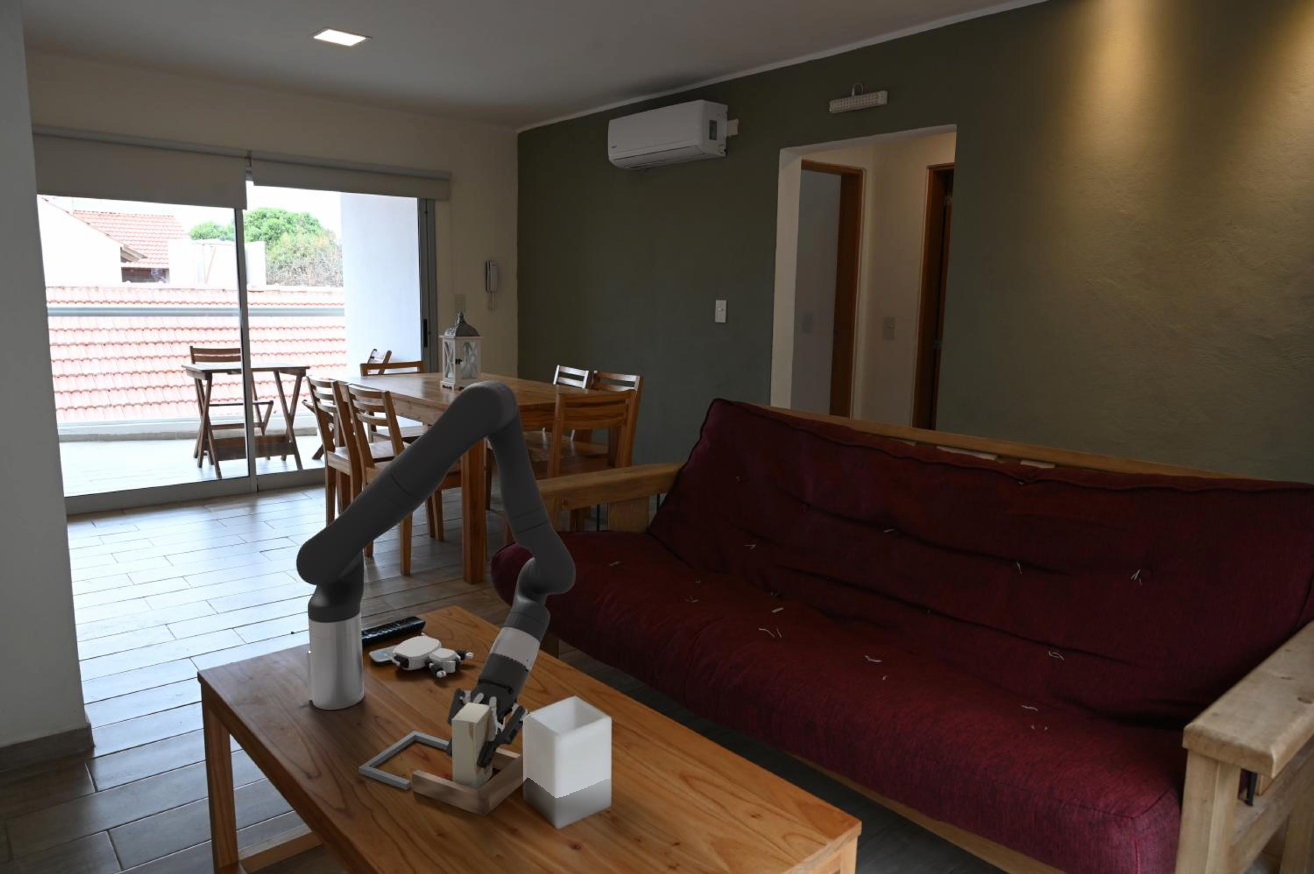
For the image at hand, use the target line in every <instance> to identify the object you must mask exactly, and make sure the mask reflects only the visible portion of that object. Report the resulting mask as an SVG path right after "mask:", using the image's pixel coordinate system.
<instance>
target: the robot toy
mask: <svg viewBox="0 0 1314 874" xmlns="http://www.w3.org/2000/svg"><path fill="white" fill-rule="evenodd" d="M383 656H384V658H387V659H388V660H390V661H391V662H392V664H394V665H395V666H396V667H400V668H402V669H404V670H406V671H412V670H418V669H422V668H424V667H426V668H428V669H430V672H431V674H432V675H433V676H434V677H435V678H436V677H437V678H443V677H446V676H447V674H449V673H455V672H456V671H458V670H460V668H461V666H462V663H461V661H466V659H467V660H472V659H473V658H474V652H470V651H469V652H467V651H466V649H465V650H463V649H457V650H452V649H449V648H444V647H442V643H441V642H440V641H439V639H437V638H433V637H430V636H428V635H426V634H425V633H424V632H421V635H420V636H419V635H417V636H414V637H411V638H409V639H406V640H404V641H402V642H401V643H399V644H398V645H397V646H396V647H394V649H393V650H392V657H391V656H388V655H387V654H386V653H384V654H383Z"/></svg>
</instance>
